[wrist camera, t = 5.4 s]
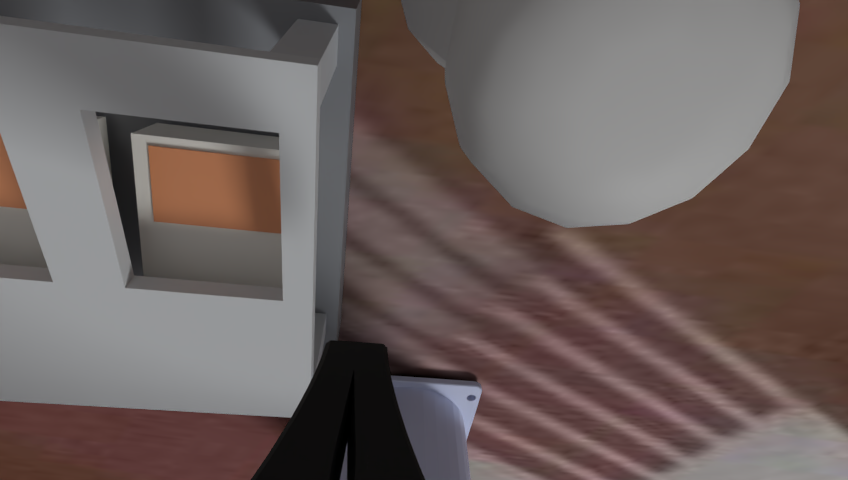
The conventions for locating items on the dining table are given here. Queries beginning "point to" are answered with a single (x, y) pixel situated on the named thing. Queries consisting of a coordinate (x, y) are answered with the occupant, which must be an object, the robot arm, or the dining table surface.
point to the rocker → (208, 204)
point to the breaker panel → (117, 204)
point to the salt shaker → (606, 95)
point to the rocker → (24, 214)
